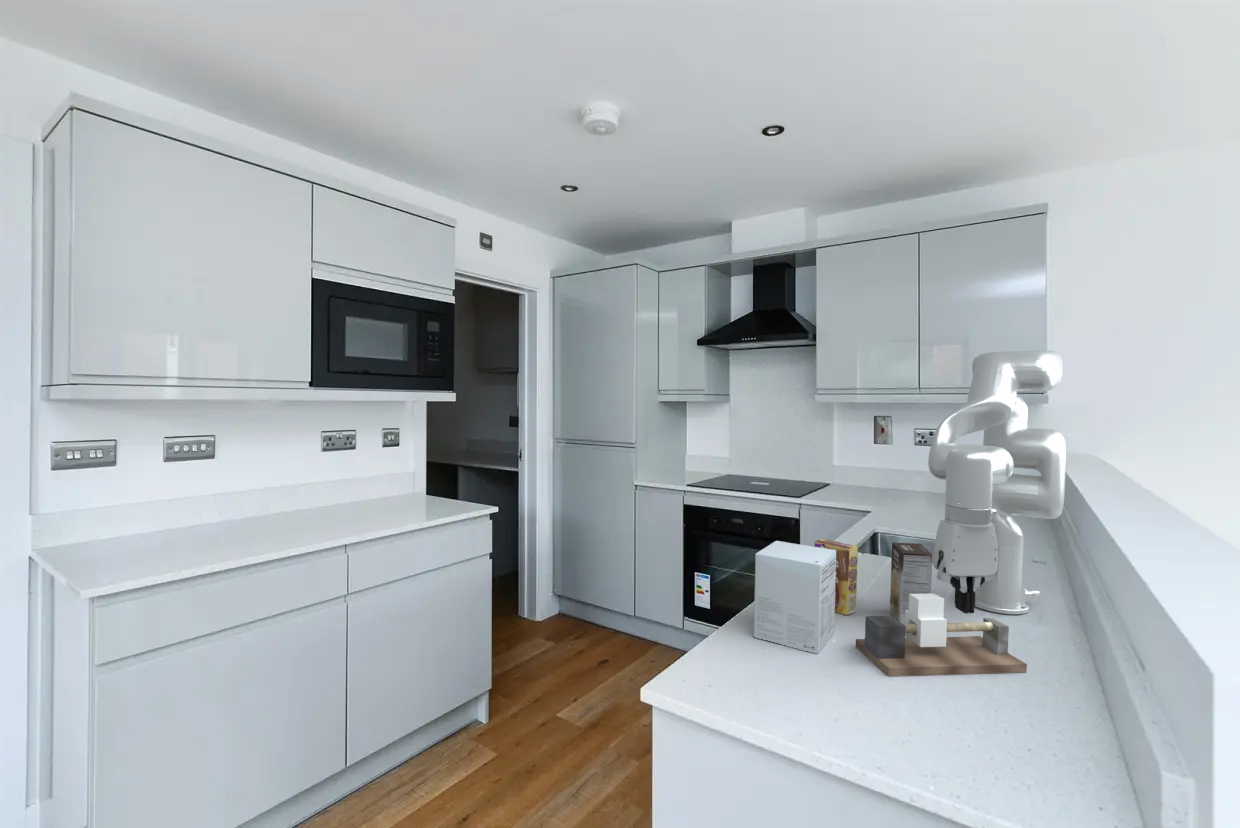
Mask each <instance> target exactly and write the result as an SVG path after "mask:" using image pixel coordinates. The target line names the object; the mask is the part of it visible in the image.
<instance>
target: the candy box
mask: <svg viewBox="0 0 1240 828" xmlns="http://www.w3.org/2000/svg"><path fill="white" fill-rule="evenodd" d="M814 547H820V548H826V549H833V550H836V580H835V613H838V614H841V615H844V616H845V615H846V616H849V615H852V614H854V613H856V612H857V588H858V587H857V586H858V582H857V581H858V560H859V559H858V557H859V546H858V545H853V544H849V543H843V542H839V541H836V540H835V541H834V540H831V539H825V538H820V539H817V540H815V541H814Z"/></svg>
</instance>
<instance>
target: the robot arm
mask: <svg viewBox="0 0 1240 828" xmlns="http://www.w3.org/2000/svg"><path fill="white" fill-rule="evenodd" d="M1062 359H1063V358H1062V357H1061V355H1060V354H1059V353H1058V352H1057V351H1056V350H1021V351H1020V350H1016V351H1015V350H1014V351H1013V350H1011V351H994V352H993V351H992V352H986V353H985V352H984V353H982V354H980V355H977V356H976V357H974V358H973V360H972V363H971V370H972V371H971V372H972V378H971V383H970V387H969V391H968V396H967V401H966V404H964V405H962V406H960V407H959V408H957V409H955V410H954V411H952V412H951V413H949V415H947V416H946V417H945V418H944V419H943V420H942V421H941V422H940V423H939V424H938V426H937V428H936V429H935V432H934V434H933V437H932V438H933V439H932V440H931V441H932V442H931V445H930V449H929V453H928V460H927V462H928V464H927V466H928V470H929V472H930V474H931V475H932V476H933V477H935V478H936V479H938V480H943V481H945V501H944V502H945V503H944V506H945V507H944V519H940V521H939V523H938V527H937V530H936V536H935V541H934V548H933V559H932V565H933V567H934V569H936V570H938V571H937V574H936V578H937V579H938V580H940V581H941V582H944V583H949V584H950V585H951V587H952V588H953V589H954V608H955V609H957V610H959V611H960V612H961V613H963V614H974V613H975V607H976V608H978V609H980V610H984V611H988V612H992V613H997V614H1003V615H1023V614H1026V613H1028V612H1029V611H1030V610H1029V609H1030V607H1029V604H1028V603H1027V602H1026V600H1027V601H1028V599H1031V600H1032V599H1033V600H1034V599H1036V600H1038V599H1040V598H1041V592H1040V591H1039V590H1037V589H1036V590H1035V589H1034V590H1033V589H1032V590H1031V589H1030V590H1027V589H1026V588H1025V587H1022V586H1023V585H1022V582H1023V562H1024V561H1023V560H1024V558H1023V557H1024V538H1025V537H1024V534H1023V533H1024V532H1023V530H1022V529H1021V527H1020V526H1019V524H1018V523H1017V521H1015V519H1014V518H1013V517H1012V516H1021V517H1028V518H1029V517H1030V518H1036V519H1044V520H1045V519H1047V520H1054V519H1057V518H1059V517H1060V516H1061V515H1062V513H1063V510H1064V505H1065V493H1066V491H1065V489H1066V471H1067V470H1066V469H1067V468H1066V467H1067V445H1066V440H1065V437H1064V436H1063V434H1062V433H1061V432H1059V431H1058V430H1054V429H1048V428H1035V427H1034V428H1033V427H1032V428H1030V427H1029V426H1028V417H1029V416H1028V415H1029V407H1028V405H1027V403H1026V402H1025V400H1024V399H1023V398H1022V397H1021V395H1020V394H1018V391H1024V392H1025V391H1028V392H1029V391H1031V392H1032V391H1033V392H1034V391H1035V392H1036V391H1038V392H1039V391H1040V392H1044V391H1046V392H1047V391H1051V390H1053V389H1054V388H1056V387H1057V386H1058V385H1059V384H1060V382H1061V380H1062V377H1063V373H1064V372H1063V371H1064V365H1063V360H1062ZM980 431H983V439H982V440H983V442H982V444H983V445H981V444H970V443H969V444H968V443H967V444H966V443H954V442H955V441H957V440H958V439H960V438H962V437H964V436H966V435H969V434H973V433H976V432H980ZM1014 469H1022V470H1023V469H1024V470H1025V469H1026V470H1035V471H1037V472H1039V473H1040V475H1030V474H1021V473H1013V472H1014Z"/></svg>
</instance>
